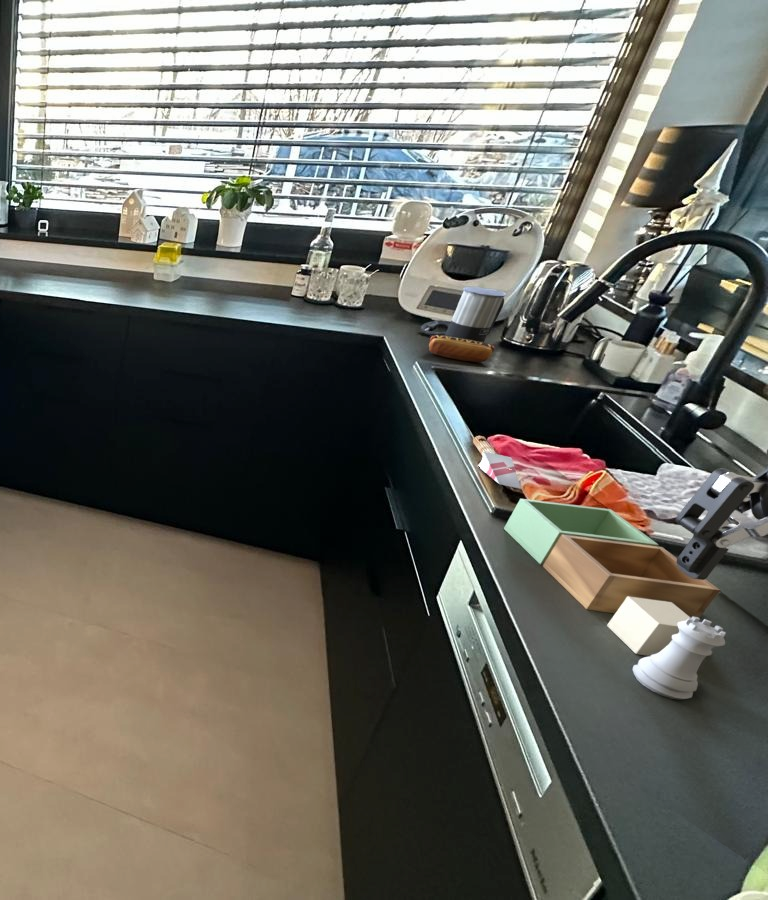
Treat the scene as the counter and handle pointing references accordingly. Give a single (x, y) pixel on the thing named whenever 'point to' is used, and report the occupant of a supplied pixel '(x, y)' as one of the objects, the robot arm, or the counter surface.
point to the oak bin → (624, 575)
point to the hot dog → (460, 348)
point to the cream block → (646, 624)
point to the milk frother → (471, 315)
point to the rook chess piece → (679, 659)
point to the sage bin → (566, 526)
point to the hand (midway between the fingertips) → (741, 581)
